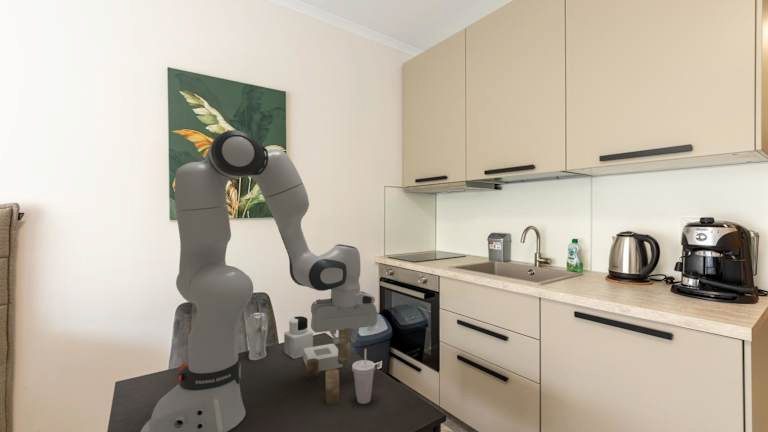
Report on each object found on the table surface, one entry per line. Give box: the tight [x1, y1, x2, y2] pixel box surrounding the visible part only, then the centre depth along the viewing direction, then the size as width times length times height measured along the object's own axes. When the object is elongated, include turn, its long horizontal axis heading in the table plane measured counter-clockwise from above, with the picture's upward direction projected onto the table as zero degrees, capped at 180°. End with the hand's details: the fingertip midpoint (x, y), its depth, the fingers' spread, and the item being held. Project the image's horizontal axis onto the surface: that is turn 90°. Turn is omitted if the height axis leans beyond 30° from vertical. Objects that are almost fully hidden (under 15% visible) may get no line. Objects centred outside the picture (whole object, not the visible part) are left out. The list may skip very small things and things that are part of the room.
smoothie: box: [351, 348, 376, 405], centre depth 92 cm, size 6×6×14 cm
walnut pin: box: [306, 358, 320, 380], centre depth 105 cm, size 4×4×5 cm
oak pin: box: [325, 368, 340, 406], centre depth 91 cm, size 4×4×8 cm
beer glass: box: [246, 312, 269, 361], centre depth 120 cm, size 7×7×15 cm
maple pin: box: [337, 328, 351, 365], centre depth 102 cm, size 4×4×12 cm
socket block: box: [302, 343, 344, 373], centre depth 114 cm, size 11×11×4 cm
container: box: [283, 315, 314, 360], centre depth 123 cm, size 8×8×13 cm
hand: (344, 343), depth 102 cm, fingers closed on maple pin, 4 cm apart
